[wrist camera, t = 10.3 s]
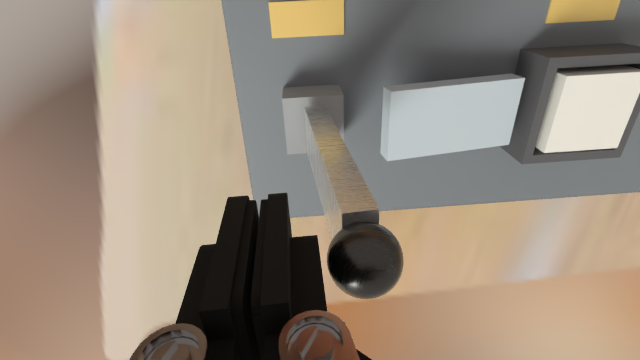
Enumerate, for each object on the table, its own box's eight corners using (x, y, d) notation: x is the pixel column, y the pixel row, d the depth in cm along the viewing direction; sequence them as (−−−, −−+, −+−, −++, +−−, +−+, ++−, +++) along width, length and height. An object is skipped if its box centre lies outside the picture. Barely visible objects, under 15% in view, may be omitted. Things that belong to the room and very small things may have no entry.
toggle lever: (335, 104, 17) (419, 243, 8) (335, 149, 18) (410, 315, 9) (293, 107, 17) (333, 255, 8) (297, 153, 18) (335, 326, 9)
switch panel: (697, -51, 20) (826, -60, 15) (607, 170, 27) (675, 212, 22) (227, -29, 19) (204, -31, 14) (260, 195, 26) (252, 245, 21)
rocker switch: (511, 73, 18) (525, 77, 18) (497, 137, 20) (509, 144, 19) (383, 86, 17) (391, 91, 16) (380, 153, 19) (387, 161, 18)
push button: (609, 61, 19) (648, 71, 17) (585, 131, 21) (617, 148, 19) (536, 65, 19) (567, 76, 17) (518, 135, 21) (543, 153, 19)
